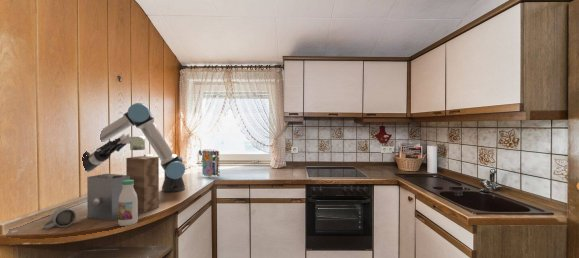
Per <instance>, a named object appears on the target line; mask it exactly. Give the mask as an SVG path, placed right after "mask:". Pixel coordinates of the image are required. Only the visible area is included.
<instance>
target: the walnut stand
mask: <svg viewBox="0 0 579 258" xmlns="http://www.w3.org/2000/svg"><path fill="white" fill-rule="evenodd" d="M125 160H126V161H125V163H126V165H125V166H126V167H125V169H126V171H125V172H126V174H125V175H130V180H134V185H133V188H134V190H135V192H136V194H137V200H138V213H147V212H150V211H153V210H155V209H158V208H159V207H160V206H159V205H160V202H159V201H160V199H159V198H160V197H159V196H160V195H159V194H160V189H159V187H160V183H159V181H160V180H159V179H160V177H159V176H160V172H159V171H160V169H159V167H160V164H159V161H160V158H159V157H158V156H147V155H146V156H145V155H139V156H138V155H137V156H133V157H132V156H131V157H126V159H125Z"/></svg>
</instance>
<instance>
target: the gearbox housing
mask: <svg viewBox="0 0 579 258" xmlns="http://www.w3.org/2000/svg"><path fill="white" fill-rule="evenodd" d="M124 180H130V175H126V174H117V173H116V174H115V173H103V174H96V175H92V176H91V175H90V176H87V178H86V181H87V187H86V189H87V190H86V191H87V194H86V195H87V202H86V203H87V206H86V207H87V218H88V219H96V220H103V221H108V222H109V221H110V222H113V221H115V220H116V221H117V220H118V202H119V196H120V194H121V192H122V189H123V186H122V185H123V184H122V181H124Z"/></svg>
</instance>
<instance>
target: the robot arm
mask: <svg viewBox="0 0 579 258" xmlns="http://www.w3.org/2000/svg"><path fill="white" fill-rule="evenodd" d="M122 115H123V116H122V117H119V118H118V119H116V120H114V121H113V122H112V123H110V124H108V125H106V126H104V127H103V128H102V129H103V130H102V131H101V134H100V140H101V142H104V143H105V142H106V143H105V144H103V145H102V146H101V145H100V147H97V148H96V150H95V151H93V152H92V153H91V154H90V152H87V151H86V152H85V153H84V154H83V157H84V158H83V157H82V161H83V166H84V168H85V171H87V172H88V173H90V172H91V171H94V170H95V169H96V168H97V167H98V166H101V164H102V163H104V162H106V161H107V160H109V159H110V158H111V155H112V154H113V153H114V152H121V151H120V150H122V148H124V147H125V146H126V145H127V143H121V142H122V141H124V140H125V139H130V137H132V136H131V135H130V133H127V134H125V133H123V134H122V135H120V136H119V137H118V138H115V139H116V140H115V139H114V140H111V139H112V138H114V137H115V136H116V135H118V134H120V133H122V132H123V131H125V130H127V129H128V128H130V127H134V126H135V127H136V128H137V129H139V130H141V132H142V134H143V135H144V137H145V139H146V140H147V141H148V142H149V145H150V146H151V147H152V149H153V150H154V152H155V154H156V155H157V157H159V161H161V162H160V166H161V168H162V169H163V170H164V179H163V183H162V186H161V191H162V192H165V193H174V192H175V193H176V192H180V191H184V190H185V189H186V185H185V183H184V179H183V176H184V174H185V172H186V165H185V164H184V163H183V158H182V156H179V155H178V154H174V152H173V151H172V149H171V147H170V145H169V144H168V143H167V141H166V139H165V137H164V136H163V135H162V133H161V131H160V130H159V128H158V126H157V125H156V123H155V117H154V116H153V114H152V112H151V111H150V108H149V107H148V105H147V104H144V103H141V102H135V103H133V104H132V105H130V106H129V107H128V110H127V112H125V113H123V114H122ZM86 155H87V156H86Z"/></svg>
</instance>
